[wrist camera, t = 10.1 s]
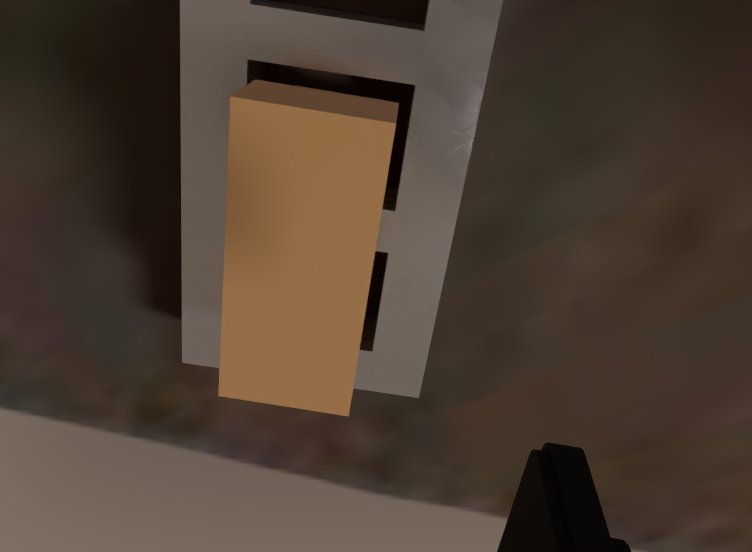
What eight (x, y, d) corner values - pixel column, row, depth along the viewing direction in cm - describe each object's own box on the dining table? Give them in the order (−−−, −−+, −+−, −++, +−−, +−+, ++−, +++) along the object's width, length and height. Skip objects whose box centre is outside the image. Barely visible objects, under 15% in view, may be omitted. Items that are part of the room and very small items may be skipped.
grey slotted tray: (587, -468, 15) (618, -547, 12) (418, 360, 26) (418, 397, 23) (212, -529, 15) (176, -618, 12) (202, 327, 25) (182, 362, 23)
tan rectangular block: (402, 79, 21) (396, 123, 15) (364, 310, 25) (348, 416, 19) (283, 59, 20) (230, 96, 15) (265, 294, 25) (218, 396, 19)
